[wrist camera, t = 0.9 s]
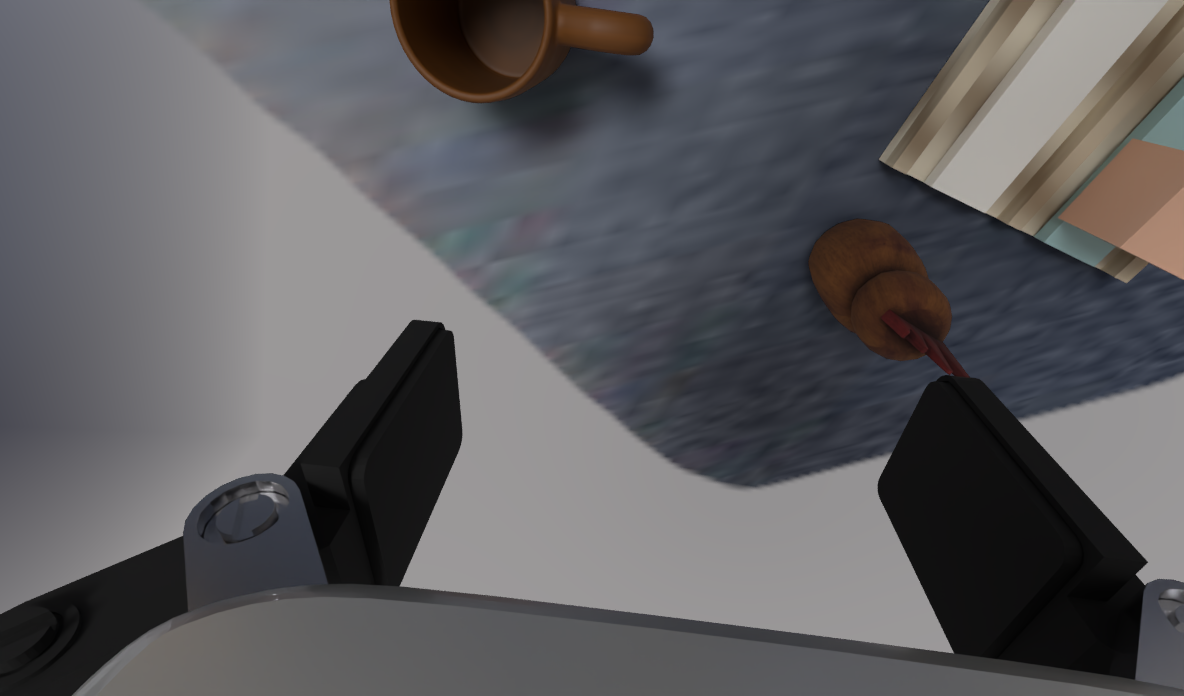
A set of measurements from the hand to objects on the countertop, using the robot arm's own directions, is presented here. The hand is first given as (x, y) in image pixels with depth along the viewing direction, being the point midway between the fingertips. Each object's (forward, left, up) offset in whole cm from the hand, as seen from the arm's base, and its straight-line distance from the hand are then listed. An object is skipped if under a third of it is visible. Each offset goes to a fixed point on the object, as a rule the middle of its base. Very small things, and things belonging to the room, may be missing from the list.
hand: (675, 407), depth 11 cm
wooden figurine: (+1, +15, -28) cm, 32 cm away
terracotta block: (-9, +27, -25) cm, 38 cm away
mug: (-4, -9, -28) cm, 29 cm away
